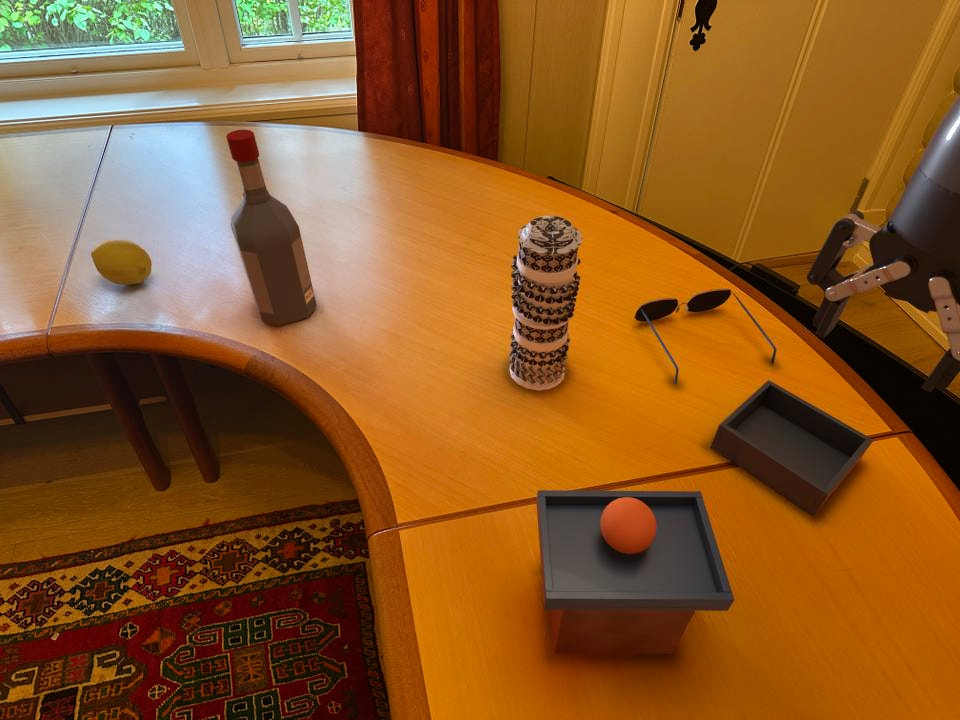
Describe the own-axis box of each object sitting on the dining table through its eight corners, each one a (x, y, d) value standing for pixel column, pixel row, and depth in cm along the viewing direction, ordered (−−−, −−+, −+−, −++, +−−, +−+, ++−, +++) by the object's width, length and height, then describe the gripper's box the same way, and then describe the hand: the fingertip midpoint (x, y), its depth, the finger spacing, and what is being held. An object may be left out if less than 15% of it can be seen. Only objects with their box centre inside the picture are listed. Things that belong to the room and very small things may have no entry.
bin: (858, 462, 79) (874, 439, 76) (813, 516, 73) (828, 494, 70) (758, 402, 87) (768, 379, 84) (709, 446, 81) (719, 424, 78)
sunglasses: (722, 307, 104) (732, 285, 100) (769, 372, 95) (783, 351, 91) (630, 323, 100) (637, 302, 96) (670, 392, 91) (680, 372, 87)
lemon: (169, 278, 109) (153, 240, 104) (131, 300, 104) (112, 261, 99) (130, 261, 113) (113, 223, 108) (92, 282, 109) (72, 243, 103)
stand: (654, 571, 68) (678, 511, 60) (672, 654, 62) (701, 599, 53) (547, 570, 68) (557, 511, 60) (554, 653, 62) (565, 598, 53)
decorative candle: (506, 349, 95) (512, 206, 78) (565, 351, 95) (584, 207, 78) (506, 391, 89) (512, 244, 72) (569, 392, 89) (591, 246, 72)
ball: (664, 550, 56) (670, 503, 54) (632, 573, 53) (638, 523, 51) (619, 526, 59) (623, 481, 58) (587, 546, 56) (591, 499, 55)
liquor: (266, 331, 99) (211, 154, 78) (253, 301, 104) (199, 129, 84) (320, 315, 102) (281, 140, 81) (305, 287, 108) (265, 117, 87)
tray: (695, 503, 61) (700, 491, 59) (727, 611, 53) (734, 600, 51) (536, 502, 61) (537, 489, 59) (544, 609, 53) (545, 598, 51)
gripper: (850, 152, 41) (770, 335, 52) (1110, 236, 33) (952, 430, 44) (895, 124, 44) (812, 300, 56) (1139, 193, 37) (986, 382, 48)
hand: (874, 357), depth 50 cm, fingers open, 8 cm apart
